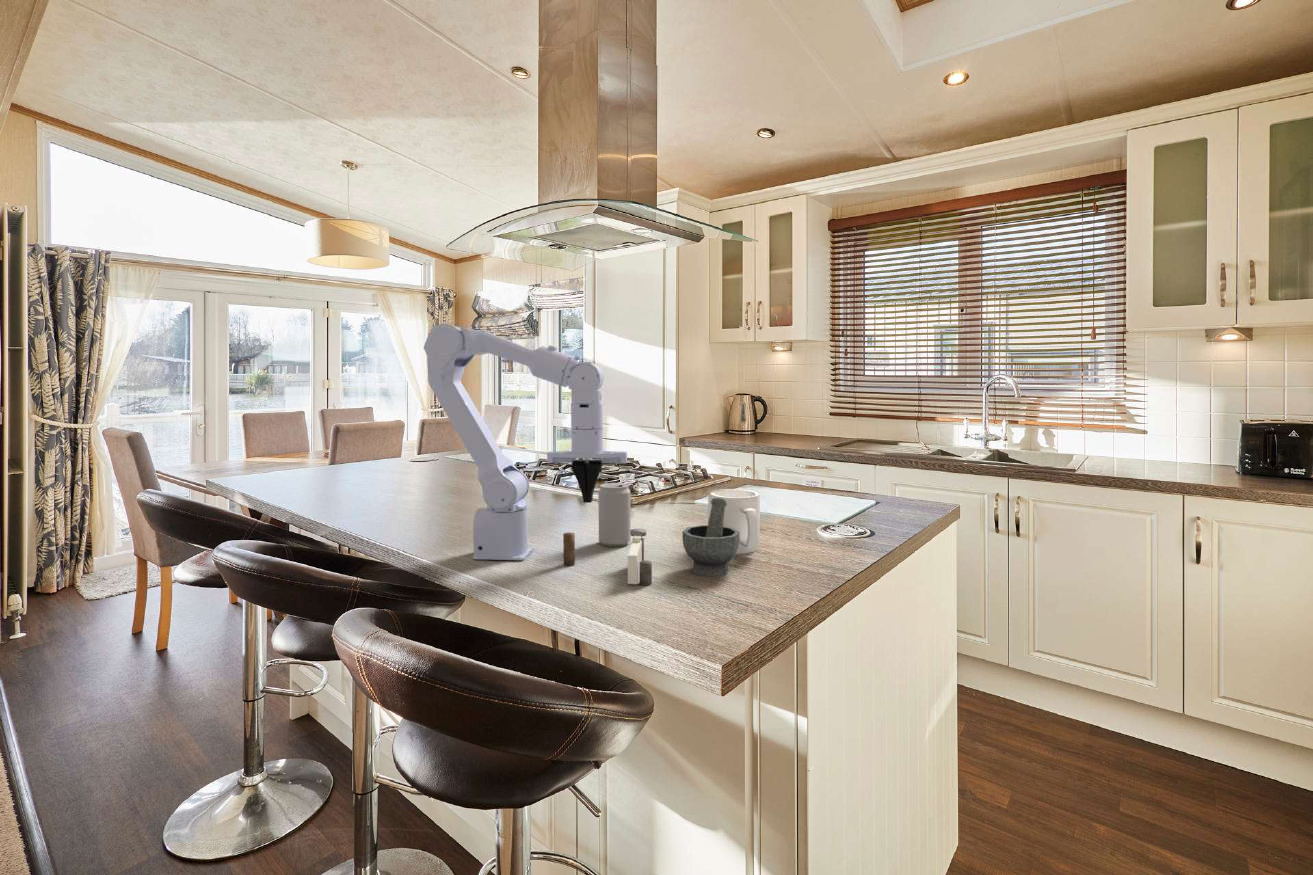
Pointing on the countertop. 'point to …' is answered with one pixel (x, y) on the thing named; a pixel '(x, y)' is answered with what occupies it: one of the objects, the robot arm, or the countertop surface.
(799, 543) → the countertop surface
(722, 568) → the mortar and pestle
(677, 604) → the countertop surface
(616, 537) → the beverage can
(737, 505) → the mug
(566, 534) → the posts
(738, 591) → the countertop surface
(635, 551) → the gate
